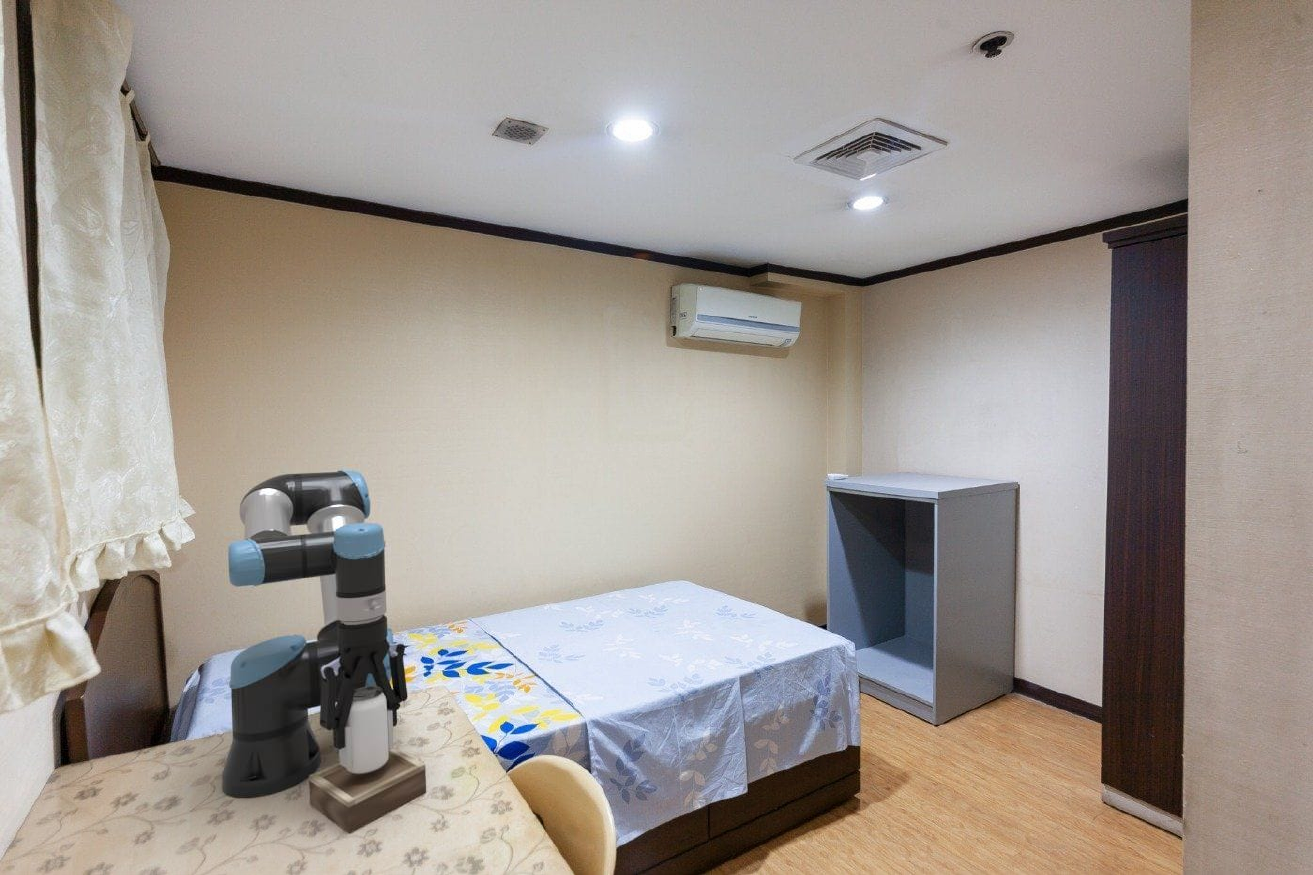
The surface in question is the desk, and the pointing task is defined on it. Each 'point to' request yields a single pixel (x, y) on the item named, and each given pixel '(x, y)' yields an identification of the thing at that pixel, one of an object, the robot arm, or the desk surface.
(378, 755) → the can
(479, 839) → the desk surface
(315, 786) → the wooden tray
